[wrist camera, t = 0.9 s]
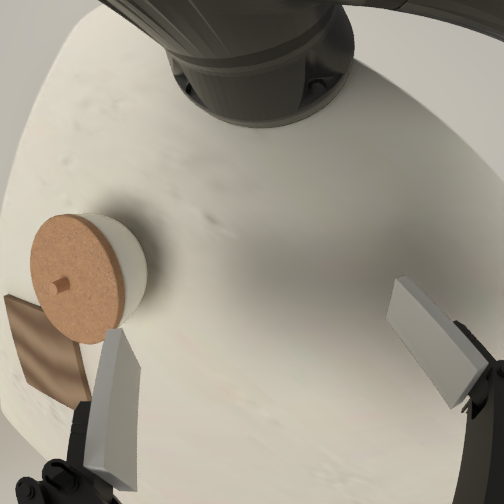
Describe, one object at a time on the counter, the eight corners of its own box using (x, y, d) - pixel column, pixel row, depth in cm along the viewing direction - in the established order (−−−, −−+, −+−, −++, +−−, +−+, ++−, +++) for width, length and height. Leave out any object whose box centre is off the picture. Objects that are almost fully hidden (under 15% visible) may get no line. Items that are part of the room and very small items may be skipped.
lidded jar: (145, 332, 29) (90, 378, 20) (73, 276, 29) (12, 302, 20) (184, 242, 26) (122, 267, 17) (99, 189, 27) (28, 193, 18)
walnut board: (8, 294, 34) (3, 296, 33) (73, 318, 31) (68, 321, 30) (30, 380, 37) (27, 382, 36) (97, 415, 34) (93, 419, 33)
